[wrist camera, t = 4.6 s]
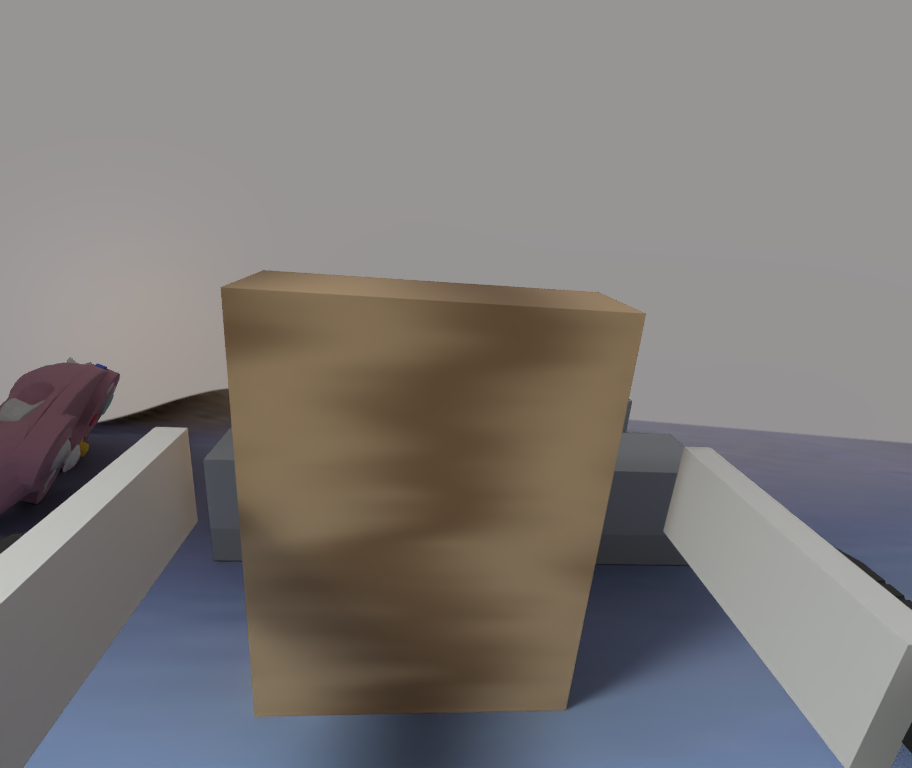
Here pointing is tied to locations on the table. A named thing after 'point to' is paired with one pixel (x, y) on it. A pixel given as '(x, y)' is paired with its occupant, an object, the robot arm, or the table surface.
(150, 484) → the robot arm
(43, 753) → the table surface
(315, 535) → the oak plank
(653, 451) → the grooved sill
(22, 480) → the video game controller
